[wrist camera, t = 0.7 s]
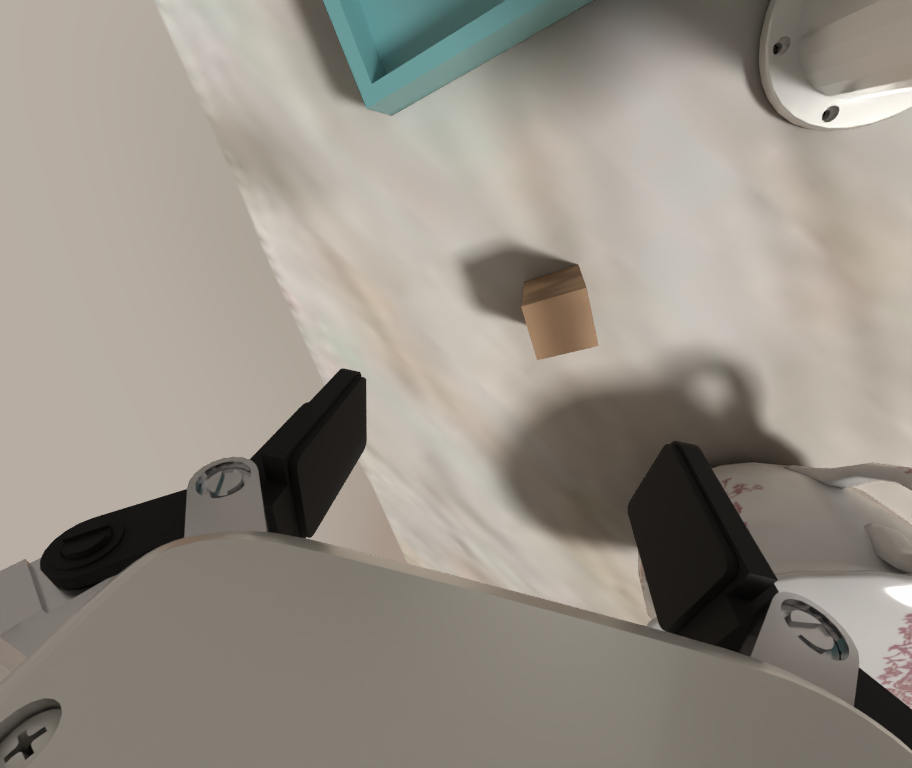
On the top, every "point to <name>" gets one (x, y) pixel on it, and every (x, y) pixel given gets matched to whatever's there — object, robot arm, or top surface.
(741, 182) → the top surface
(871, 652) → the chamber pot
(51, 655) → the robot arm
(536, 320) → the walnut block
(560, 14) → the bin
